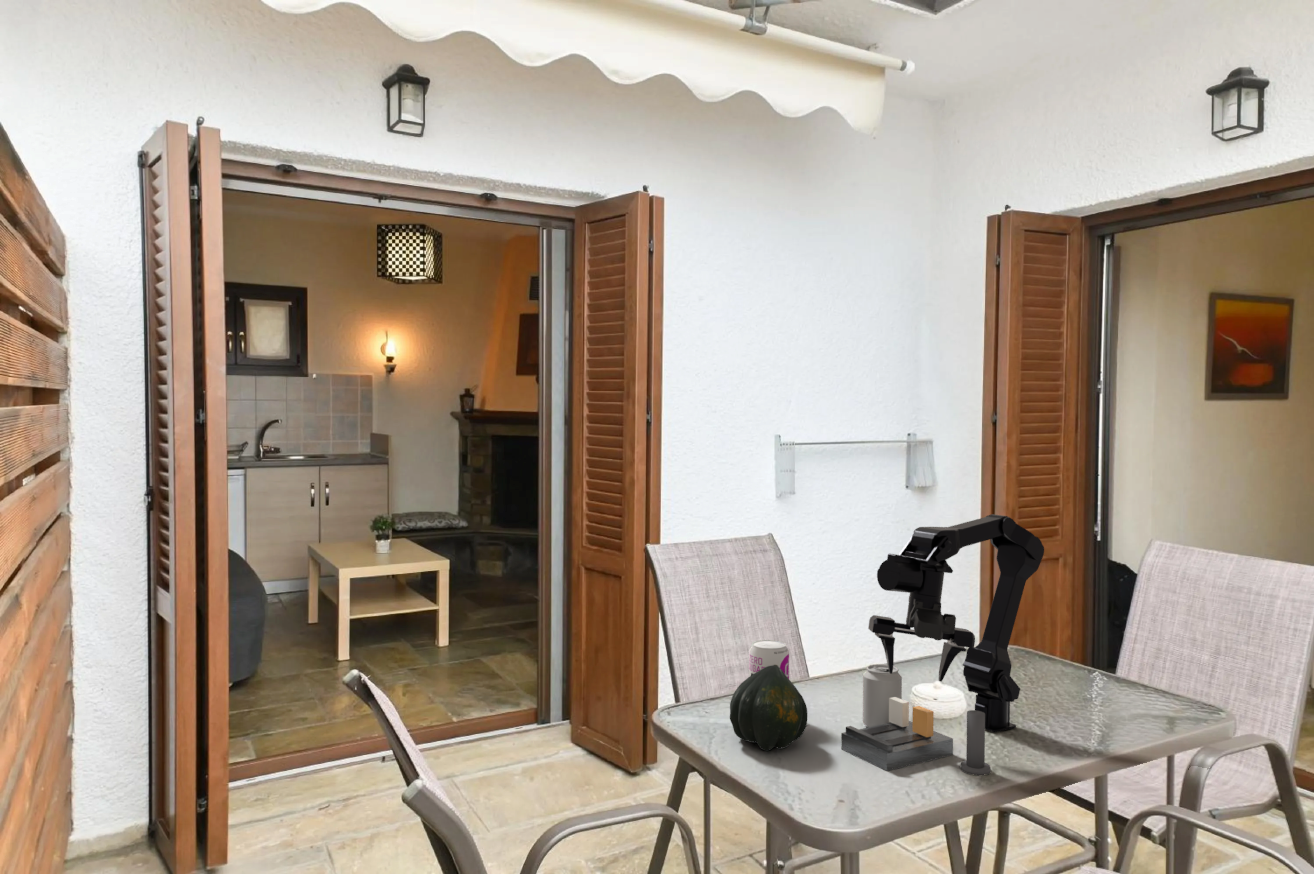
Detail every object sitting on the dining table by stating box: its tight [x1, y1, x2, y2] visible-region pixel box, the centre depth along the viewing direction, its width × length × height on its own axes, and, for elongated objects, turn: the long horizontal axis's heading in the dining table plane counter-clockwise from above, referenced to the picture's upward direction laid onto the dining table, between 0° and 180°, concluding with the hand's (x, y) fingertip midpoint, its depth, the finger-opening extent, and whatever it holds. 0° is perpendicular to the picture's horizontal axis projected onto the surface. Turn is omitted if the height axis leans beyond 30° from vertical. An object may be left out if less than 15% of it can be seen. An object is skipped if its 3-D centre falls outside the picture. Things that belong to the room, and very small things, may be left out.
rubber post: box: [959, 709, 992, 776], centre depth 159 cm, size 5×5×10 cm
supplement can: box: [748, 639, 790, 680], centre depth 187 cm, size 8×8×15 cm
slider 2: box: [912, 705, 935, 737], centre depth 167 cm, size 2×4×4 cm, turn 29°
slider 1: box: [889, 697, 910, 727], centre depth 173 cm, size 2×4×4 cm, turn 29°
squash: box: [729, 665, 808, 752], centre depth 172 cm, size 14×15×15 cm
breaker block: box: [840, 720, 954, 772], centre depth 167 cm, size 16×12×4 cm
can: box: [862, 663, 903, 728], centre depth 181 cm, size 8×8×12 cm
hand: (915, 677), depth 171 cm, fingers open, 9 cm apart
